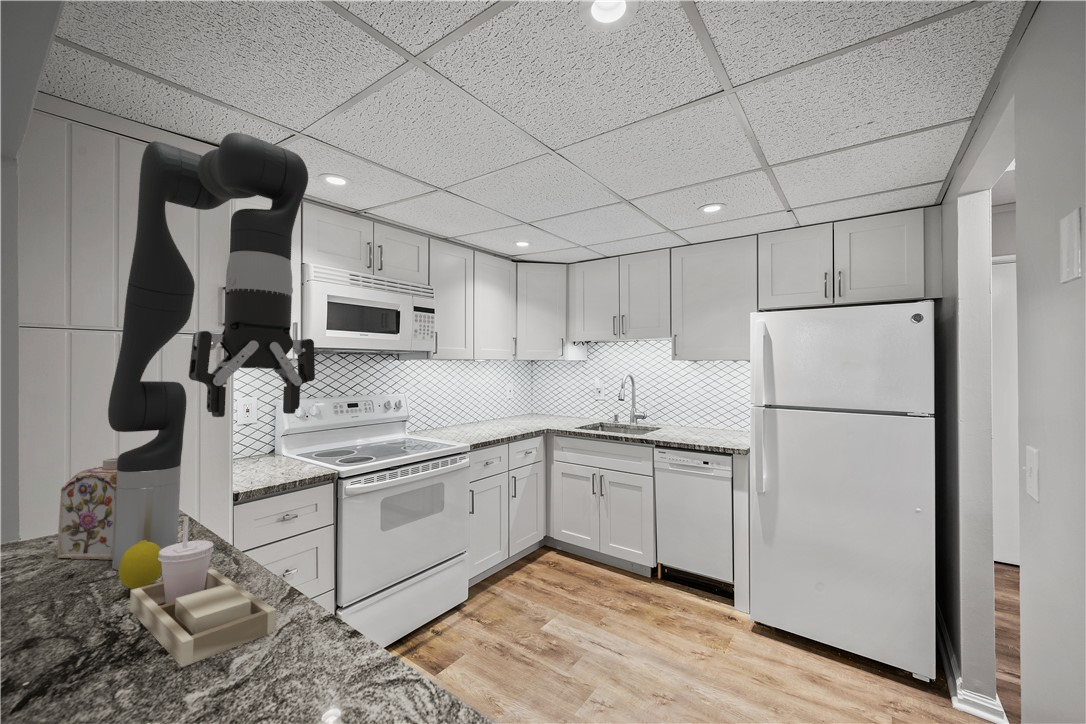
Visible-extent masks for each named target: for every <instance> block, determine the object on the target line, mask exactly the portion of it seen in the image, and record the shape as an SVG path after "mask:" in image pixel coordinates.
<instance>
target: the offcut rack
mask: <svg viewBox="0 0 1086 724" xmlns="http://www.w3.org/2000/svg"><path fill="white" fill-rule="evenodd" d="M225 584H229V585H231V586H232V587H233V588H235V589H236V590H237V591H238V592H240V593H241V594H242V595H244V596H245V597H246V598H248V599H249V600H250V601H251V608H250V613H251V614H253V615H250V616H247V617H244V618H241V619H238V620H235V621H233V622H230V623H227V624H224V625H221V626H218V627H215V628H212V629H210V630H207V631H204V632H201V633H198V634H195V635H192V636H190V635H189V634H188V633H187V632H186V631H185V630H184V629H183V628H182V627H181V626H179V625H178V624H177V623H176V622H175V621H174V617H175V602H176V601H174V602H171V603H167V604H166V601H165V592H164V583H163V581H159V582H156V583H152V584H151V585H148V586H144V587H140V588H136V589H130V591H129V592H130V593H129V595H130V598H129V611H130V612H131V613H132V614H133V615H134V616H135V617H136V618H137V620H139V622H140V623H141V624H142V625H143V626H144V628H146V630H147V631H148V632H149V633H150V634H151V635H152V636H153V637H154V638H155V639H156V640H157V642H159V644H160V645H161V646H162V647H163V648H164V650H166V651H167V653H168V654H169V655H170V656H171V657H172V658H173V660H175V661H176V662H177V664H178V665H179V666H180V667H181V668H183V667H186V666H189V665H192V664H195V663H197V662H199V661H202V660H205V659H207V658H210V657H213V656H214V655H218V654H220V653H223V652H225V651H228V650H230V649H231V650H232V649H233V648H236V647H238V646H241V645H243V644H246V643H249V642H251V641H254V640H257V639H259V638H261V637H264V636H267V635H269V634H272V633H274V632H276V630H277V629H276V627H277V622H276V621H277V609H276V608H274V607H273V606H272V605H269V604H268V603H266V602H265V601H264V600H262V599H260V598H259V597H258V596H256V595H255V594H252V593H251V592H249V591H248V590H247V589H245V588H243V587H242V586H241V585H239V584H237V583H236V582H234V581H233V580H232V579H229V578H228V577H226V576H225V575H223V574H222V573H221V572H219V571H218V570H216V569H214V568H210V569H209V568H208V571H207V577H206V582H205V588H204V590H207V589H211V588H214V587H218V586H222V585H225ZM161 604H162V605H161Z"/></svg>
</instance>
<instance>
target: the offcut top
mask: <svg viewBox="0 0 1086 724" xmlns="http://www.w3.org/2000/svg"><path fill="white" fill-rule="evenodd" d="M250 608H251V601H250V600H249V599H248V598H246V597H245V596H244V595H242V594H241V593H240V592H238V591H237V590H236V589H235V588H233V587H232V586H231V585H229V584H225V585H222V586H218V587H214V588H211V589H207V590H204V591H200V592H196V593H193V594H189V595H185V596H182V597H178V598H176V602H175V615H176V616H177V617H178V618H179V619H180V620H181V621H182V622H183V623H184V624H185V625H186V627H187V628H188V629H189V630H190V631H191V632H192V633H193V634H194V635H195V634H198V633H201V632H204V631H207V630H210V629H212V628H215V627H218V626H221V625H224V624H227V623H230V622H233V621H235V620H238V619H241V618H244V617H247V616H250Z"/></svg>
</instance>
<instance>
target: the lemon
mask: <svg viewBox="0 0 1086 724" xmlns="http://www.w3.org/2000/svg"><path fill="white" fill-rule="evenodd" d="M160 550H161V548H160V547H159V546H158V545H157V544H155V543H152V542H147V541H146V540H142V541H140V542H139V543H137V544H135V545H133V546H132V547H130V548H129V549H128V550H127V551H126V552H125V553H124V555H123V557H122V559H121V562H120V565H119V570H118V577H119V581H120V582H121V583H122V585H123V586H124V587H126V588H128V589H130V590H132V589H136V588H140V587H144V586H148V585H152V584H155V583H154V582H156V581H157V580H158V579H159V578H160V577H161V575H162V565H161V561H159V560H158V557H159V551H160Z"/></svg>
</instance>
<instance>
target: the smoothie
mask: <svg viewBox="0 0 1086 724" xmlns="http://www.w3.org/2000/svg"><path fill="white" fill-rule="evenodd" d="M182 523H183V528H182V541H181V542H178V543H177V544H174V545H170V546H168V547H165V548H163V549H162V550H160V551H159V557H158V560H159V561H161V565H162V573H161V575H162V582H163V583H164V592H165V601H166V602H165V604H167V603H171V602H174V601H176V598H178V597H182V596H185V595H189V594H193V593H196V592H200V591H204V588H205V582H206V577H207V571H208V570H209V566H210V561H211V560H210V559H211V554H212V553H213V552H214V551H215V550H214V549H215V548H214V542H212V541H210V540H190V541H189V540H188V539H189V536H188V535H189V516H188V517H187V516H186V517H183V522H182Z"/></svg>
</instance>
